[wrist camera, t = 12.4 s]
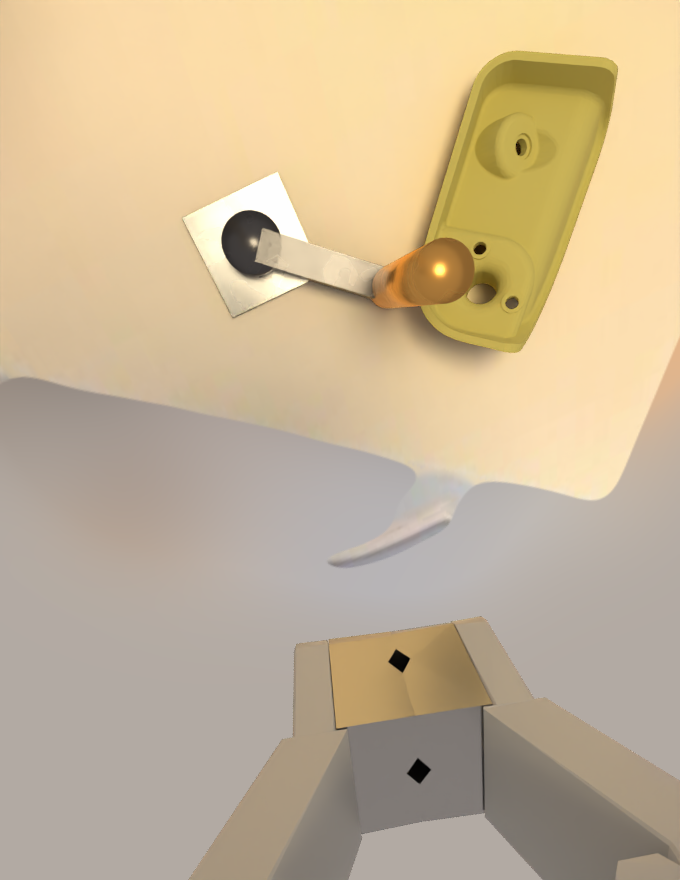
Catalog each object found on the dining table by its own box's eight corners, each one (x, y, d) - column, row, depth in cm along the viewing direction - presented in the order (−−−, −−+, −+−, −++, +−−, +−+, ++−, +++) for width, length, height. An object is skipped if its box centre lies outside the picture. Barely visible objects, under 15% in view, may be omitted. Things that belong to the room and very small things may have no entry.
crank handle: (219, 267, 35) (173, 235, 22) (231, 207, 34) (191, 134, 21) (398, 320, 38) (458, 322, 24) (414, 266, 37) (487, 236, 23)
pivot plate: (183, 219, 35) (182, 218, 34) (277, 173, 35) (277, 171, 34) (233, 317, 37) (232, 317, 37) (322, 275, 37) (322, 274, 36)
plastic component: (483, 48, 32) (638, 60, 29) (484, 113, 39) (609, 128, 36) (399, 325, 35) (532, 359, 32) (413, 340, 42) (524, 369, 39)
